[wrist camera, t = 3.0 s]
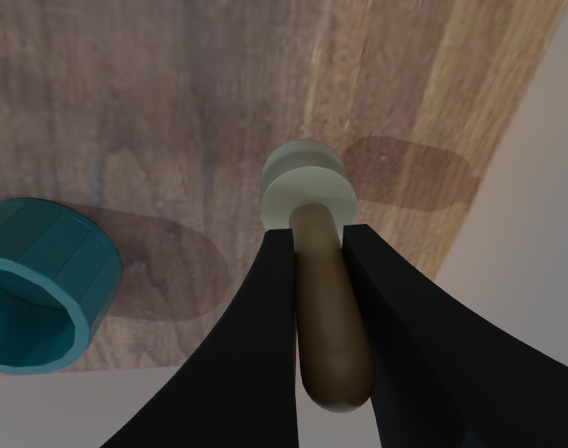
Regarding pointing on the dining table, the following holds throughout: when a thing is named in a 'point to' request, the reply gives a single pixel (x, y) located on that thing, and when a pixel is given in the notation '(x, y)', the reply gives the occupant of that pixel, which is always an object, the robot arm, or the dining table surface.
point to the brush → (320, 270)
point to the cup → (51, 285)
